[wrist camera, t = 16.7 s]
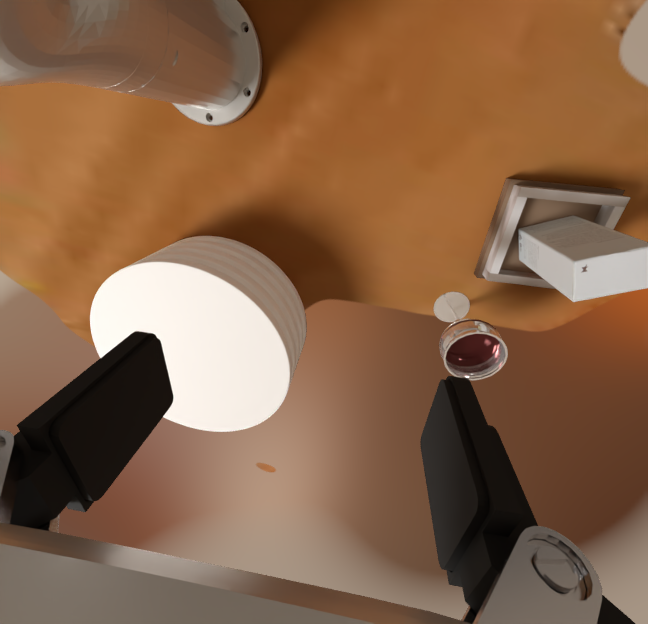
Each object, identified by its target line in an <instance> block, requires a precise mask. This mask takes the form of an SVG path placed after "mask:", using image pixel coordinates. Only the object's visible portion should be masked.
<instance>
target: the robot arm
mask: <svg viewBox="0 0 648 624" xmlns="http://www.w3.org/2000/svg"><path fill="white" fill-rule="evenodd" d="M247 27H249V30H248V32H247V33H246V28H247ZM261 78H262V55H261V48H260V43H259V39H258V35H257V33H256V30H255V28H254V25H253V23H252V21H251V19H250V17H249V16H248V14H247V12H246V11H245V9H244V8H243V7H242V6H241V4H240V3H239V2H238V1H237V0H0V86H12V85H23V84H33V83H48V82H54V83H69V84H78V85H84V86H90V87H95V88H101V89H106V90H111V91H116V92H121V93H126V94H131V95H136V96H141V97H146V98H151V99H156V100H161V101H166V102H171V103H172V104H173V105H174V106H175V107H176V108H177V109H178V110H179V111H180V112H181V113H183V114H184V115H185V116H187V117H188V118H190V119H192V120H194V121H196V122H198V123H201V124H205V125H211V126H221V125H227V124H230V123H233V122H235V121H236V120H238V119H239V118H241V117H242V116H243V115H244V114H245V113H246V112H247V111H248V110H249V109H250V107H251V105H252V104H253V102H254V101H255V98H256V96H257V93H258V91H259V87H260V82H261ZM248 91H251V95H250V96H249V95H248ZM211 116H212V117H213V120H211ZM173 398H174V397H173V392H172V387H171V383H170V379H169V375H168V370H167V366H166V362H165V357H164V353H163V349H162V344H161V341H160V340H159V339H158V338H157V337H156V335H155V334H153V333H147V332H140V331H135V332H133V333H132V334H130V335H129V336H128V337H127V338H125V339H124V340H123V341H122V342H120V343H119V344H118V345H117V346H115V347H114V348H113V349H112V350H110V351H109V352H108V353H107V354H105V355H104V356H103V357H102V358H100V359H99V360H98V361H97V362H96V363H94V364H93V365H92V366H90V367H89V368H88V369H87V370H86V371H84V372H83V373H82V374H80V375H79V376H78V377H77V378H76V379H74V380H73V381H72V382H70V383H69V384H68V385H67V386H66V387H64V388H63V389H62V390H60V391H59V392H58V393H57V394H55V395H54V396H53V397H51V398H50V399H49V400H48V401H47V402H45V403H44V404H43V405H42V406H40V407H39V408H38V409H37V410H35V411H34V412H33V413H31V414H30V415H29V416H28V417H26V418H25V419H24V420H23V421H22V422H20V423H19V424H18V425H17V426H18V428H19V430H20V432H18V433H17V434H16V435H15V436H13V435H12V434H11V433H10V432H8V431H5V430H0V624H635V623H634V622H633V621H632V620H631V619H630V618H628V617H627V616H626V615H625V614H624V613H623V612H621V611H620V610H619V609H618V608H617V607H616V606H614V605H613V604H612V603H611V602H610V601H609V600H607V598H605V597H604V596H603V595H602V587H601V583H600V581H599V577H598V575H597V573H596V571H595V570H594V568H593V566H592V564H591V563H590V561H589V560H588V559H587V558H586V557H585V555H584V554H583V553H582V552H581V550H580V549H579V548H578V547H576V546H575V545H574V544H573V543H572V542H571V541H570V540H568V539H567V538H566V537H564V536H563V535H561V534H559V533H558V532H556V531H554V530H551V529H549V528H546V527H540V526H538V525H537V522H536V520H535V518H534V515H533V513H532V511H531V508H530V506H529V504H528V501H527V499H526V497H525V495H524V492H523V490H522V487H521V485H520V483H519V481H518V478H517V476H516V474H515V471H514V469H513V467H512V464H511V462H510V460H509V457H508V455H507V453H506V450H505V448H504V446H503V444H502V441H501V439H500V436H499V434H498V433H497V430H496V429H495V428H494V427H493V426H490V425H488V424H487V422H486V420H485V417H484V415H483V412H482V410H481V407H480V405H479V402H478V400H477V397H476V395H475V392H474V390H473V387H472V385H471V383H470V381H469V379H467V378H461V377H454V376H448V377H447V379H446V380H441V381H440V383H439V386H438V389H437V392H436V395H435V398H434V401H433V404H432V407H431V409H430V412H429V415H428V418H427V421H426V424H425V427H424V430H423V433H422V436H421V452H422V459H423V465H424V471H425V477H426V484H427V490H428V496H429V503H430V509H431V515H432V522H433V528H434V534H435V541H436V547H437V553H438V560H439V564H440V567H441V568H442V569H444V570H447V575H448V581H449V584H450V585H454V586H459V587H463V592H464V597H465V601H466V602H467V603H468V605H469V606H468V608H467V610H466V612H465V614H464V616H463V618H462V620H461V621H460V620H457V619H454V618H450V617H447V616H443V615H440V614H437V613H433V612H430V611H425V610H421V609H417V608H412V607H408V606H404V605H400V604H395V603H391V602H387V601H382V600H378V599H374V598H370V597H365V596H361V595H356V594H351V593H347V592H342V591H337V590H332V589H328V588H323V587H319V586H314V585H309V584H304V583H299V582H294V581H290V580H286V579H281V578H276V577H271V576H267V575H262V574H257V573H252V572H247V571H243V570H238V569H233V568H228V567H223V566H218V565H214V564H209V563H204V562H199V561H194V560H189V559H185V558H180V557H175V556H170V555H165V554H160V553H155V552H151V551H146V550H141V549H136V548H131V547H126V546H121V545H116V544H110V543H106V542H101V541H96V540H91V539H86V538H81V537H76V536H71V535H66V534H61V533H58V525H59V514H60V513H61V511H62V510H63V509H64V508H65V507H66V506H67V508H68V509H73V510H78V511H83V512H86V511H87V509H89V507H90V506H91V505H92V503H93V502H94V501H97V500H99V499H100V498H101V497H102V496H103V495H104V493H105V492H106V491H107V490H108V488H109V487H110V486H111V484H112V483H113V482H114V480H115V479H116V478H117V476H118V475H119V474H120V473H121V471H122V470H123V469H124V467H125V466H126V465H127V463H128V462H129V460H130V459H131V458H132V457H133V455H134V454H135V453H136V451H137V450H138V449H139V447H140V446H141V445H142V444H143V442H144V441H145V440H146V438H147V437H148V436H149V434H150V433H151V432H152V430H153V429H154V428H155V427H156V425H157V424H158V422H159V421H160V420H161V418H162V417H163V416H164V415H165V413H166V412H167V411H168V409H169V408H170V407H171V405H172V403H173Z"/></svg>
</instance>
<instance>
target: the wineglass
mask: <svg viewBox="0 0 648 624" xmlns="http://www.w3.org/2000/svg"><path fill="white" fill-rule="evenodd" d="M469 307H470V303H469V300H468V298H467V297H466V296H465V295H463V294H461V293H459V292H449V293H446V294H444V295H442V296H440V297H439V298H438V299H437V300H436V302H435V304H434V313H435V315H436V316H437V318H439V319H440V320H442V321H445V322H454V321H456V322H455V323H453V324H451V325H450V326H449V327H447V328H446V330H445V331H444V333H443V334H442V336H441V340H440V352H441V356H442V358H443V359H444V363H445V366H446V368H447V370H448V371H449V372H450V373H451V374H453V375H454V376H455V377H461V378H467V379H469V380H478V379H484V378H486V377H489V376H491V375H493V374H495V373H496V372H497V371H499V370H500V369H501V368H502V366H503V365H504V364H505V362H506V359H507V356H508V355H507V347H506V345H505V344H504V342H503V341H502V340H501V337H500V335H499V333H498V332H497V330H496V329H495V328H494V327H493V326H492V325H490V324H489V323H487V322H484V321H481V320H478V319H463V320H460V319H462V318H463V317H464V316H465V315H466V314H467V313H468V311H469Z"/></svg>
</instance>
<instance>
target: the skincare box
mask: <svg viewBox="0 0 648 624" xmlns="http://www.w3.org/2000/svg"><path fill="white" fill-rule="evenodd" d="M518 235H519V260H520V261H521V262H523V263H524V264H525V265H526V266H528V267H529V268H530V269H532V270H533V271H534V272H536V273H537V274H538V275H539V276H541V277H542V278H543V279H544V280H546V281H547V282H548V283H550V284H551V285H552V286H553V287H555V288H556V289H557V290H559V291H560V292H561V293H563V294H564V295H565V296H566V297H568V298H569V299H570V300H571V301H573V302H576V301H581V300H587V299H592V298H597V297H603V296H608V295H613V294H618V293H623V292H629V291H634V290H640V289H645V288H648V242H646V241H643V240H640V239H637V238H634V237H632V236H629V235H626V234H623V233H621V232H618V231H615V230H612V229H610V228H607V227H604V226H601V225H599V224H596V223H593V222H590V221H588V220H585V219H582V218H579V217H577V216H574V215H573V216H569V217H565V218H560V219H556V220H552V221H548V222H544V223H540V224H536V225H532V226H528V227H523V228H519V229H518Z"/></svg>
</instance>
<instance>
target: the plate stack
mask: <svg viewBox="0 0 648 624" xmlns="http://www.w3.org/2000/svg"><path fill="white" fill-rule="evenodd" d="M90 326H91V333H92V337H93V341H94V344H95V347H96V349H97V352H98V354H99V356H100V358H102V357H103V356H104V355H105V354H107V353H108V352H109V351H110V350H112V349H113V348H114V347H115V346H117V345H118V344H119V343H120V342H122V341H123V340H124V339H125V338H127V337H128V336H129V335H130V334H132V333H133V332H135V331H140V332H147V333H153V334H155V335H156V337H157V338H158V339H159V340H160V341H161V344H162V349H163V353H164V357H165V362H166V366H167V370H168V375H169V379H170V383H171V387H172V392H173V397H174V398H173V403H172V405H171V407H170V408H169V409H168V411H167V412H166V413H165V415H164V416H163V417H164V418H166V419H169V420H171V421H173V422H176V423H179V424H181V425H184V426H188V427H191V428H196V429H200V430H206V431H216V432H228V431H237V430H242V429H246V428H250V427H252V426H255V425H257V424H259V423H261V422H263V421H265V420H266V419H268V418H269V417H270V416H272V415H273V414H274V413H275V412H276V411H277V410H278V408H279V407H280V405H281V404H282V403H283V401H284V399H285V397H286V395H287V392H288V389H289V386H290V383H291V380H292V377H293V374H294V371H295V369H296V366H297V363H298V360H299V357H300V354H301V351H302V349H303V346H304V343H305V338H306V330H307V329H306V328H307V323H306V315H305V310H304V307H303V304H302V301H301V299H300V296H299V294H298V292H297V290H296V289H295V287H294V285H293V284H292V282H291V281H290V279H289V278H288V277H287V276H286V274H285V273H284V272H283V271H282V270H281V269H280V268H279V267H278V266H277V265H276V264H275V263H274V262H273V261H271V260H270V259H269V258H268V257H266V256H265V255H264V254H262V253H260V252H259V251H257V250H256V249H254V248H252V247H250V246H248V245H246V244H243V243H241V242H238V241H235V240H232V239H228V238H224V237H218V236H195V237H190V238H186V239H182V240H180V241H177V242H175V243H173V244H171V245H169V246H167V247H165V248H163V249H161V250H159V251H157V252H155V253H153V254H151V255H149V256H147V257H145V258H143V259H141V260H139V261H137V262H135V263H133V264H131V265H129V266H127V267H125V268H123V269H121V270H119V271H117V272H116V273H114V274H113V275H111V276H110V277H109V278H108V279H107V280H106V281H105V282H104V283H103V284H102V285H101V287H100V288H99V290H98V291H97V293H96V295H95V297H94V300H93V303H92V307H91V313H90Z"/></svg>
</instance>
